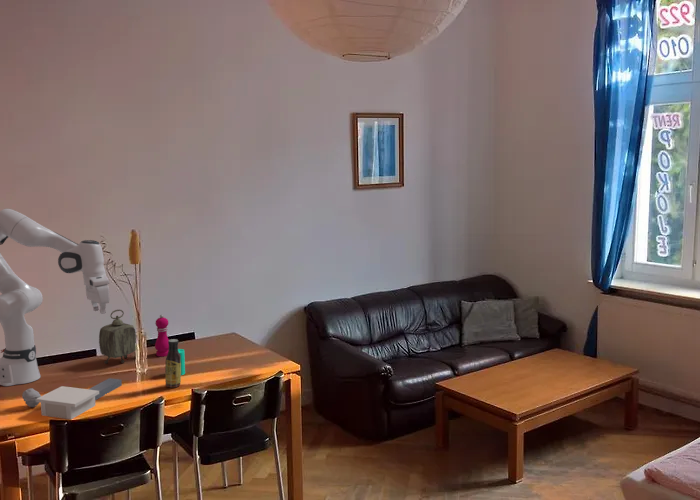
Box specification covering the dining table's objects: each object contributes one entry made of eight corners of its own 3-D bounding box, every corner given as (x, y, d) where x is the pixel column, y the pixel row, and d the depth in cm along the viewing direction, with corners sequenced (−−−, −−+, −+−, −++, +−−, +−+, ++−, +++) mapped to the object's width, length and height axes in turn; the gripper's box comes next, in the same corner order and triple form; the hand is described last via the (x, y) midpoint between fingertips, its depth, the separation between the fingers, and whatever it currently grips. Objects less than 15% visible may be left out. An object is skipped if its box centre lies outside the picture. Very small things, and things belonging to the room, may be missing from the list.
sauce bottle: (162, 387, 278) (160, 341, 275) (171, 382, 284) (170, 337, 281) (175, 389, 275) (174, 343, 272) (184, 384, 281) (183, 339, 278)
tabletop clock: (126, 356, 318) (124, 305, 314) (138, 360, 313) (136, 308, 309) (100, 364, 306) (97, 311, 302) (112, 368, 301) (109, 314, 297)
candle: (179, 370, 299) (178, 344, 297) (187, 373, 295) (187, 347, 293) (168, 374, 294) (167, 347, 292) (176, 377, 290) (175, 350, 288)
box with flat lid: (37, 414, 248) (36, 398, 247) (62, 401, 262) (61, 386, 261) (75, 420, 244) (74, 404, 243) (99, 406, 257) (99, 390, 256)
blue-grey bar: (94, 401, 262) (93, 394, 262) (81, 400, 264) (80, 393, 264) (121, 386, 280) (121, 379, 279) (109, 385, 281) (109, 378, 281)
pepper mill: (164, 351, 326) (162, 311, 323) (173, 354, 322) (172, 314, 319) (152, 355, 320) (150, 314, 317) (161, 358, 316) (160, 317, 313)
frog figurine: (30, 402, 260) (29, 385, 259) (45, 404, 258) (44, 387, 257) (19, 408, 254) (17, 390, 253) (34, 410, 252) (32, 392, 251)
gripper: (80, 278, 280) (84, 310, 282) (94, 282, 264) (99, 316, 266) (95, 275, 284) (99, 307, 286) (110, 280, 268) (114, 313, 269)
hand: (99, 312), depth 276 cm, fingers open, 8 cm apart
